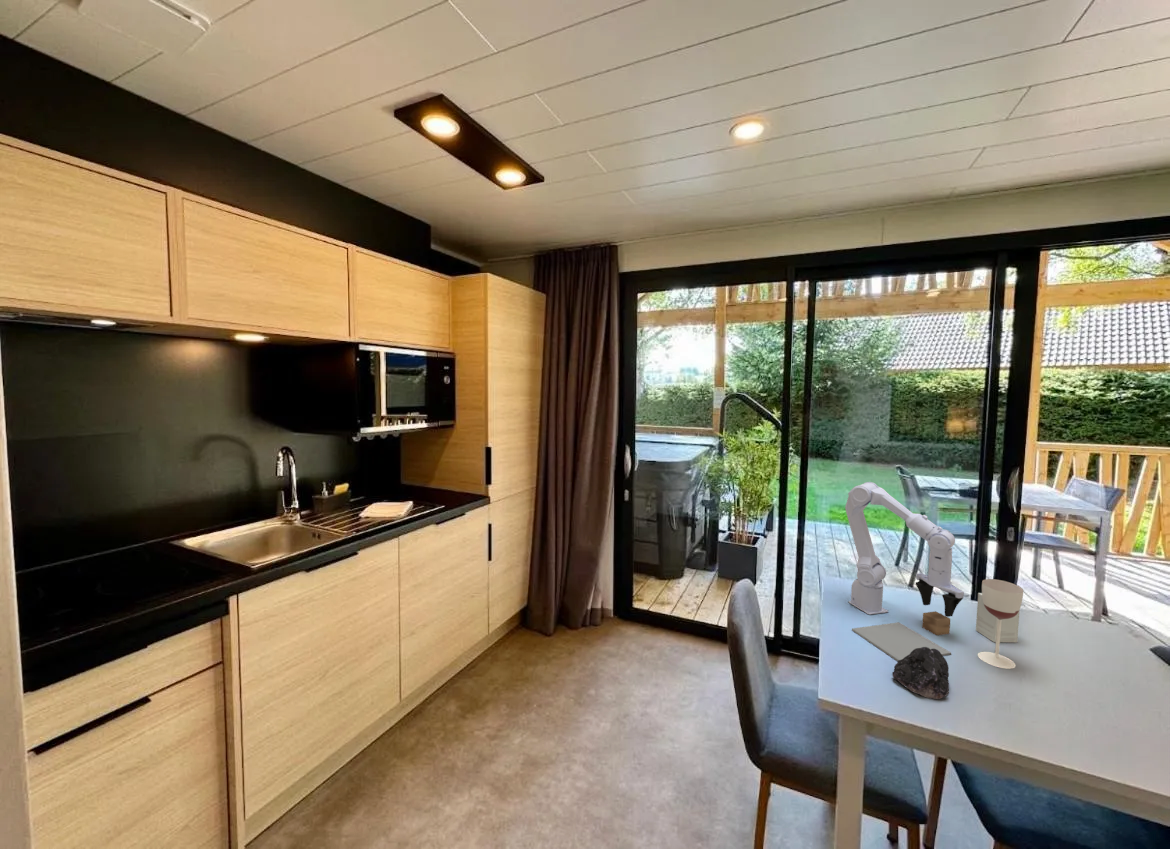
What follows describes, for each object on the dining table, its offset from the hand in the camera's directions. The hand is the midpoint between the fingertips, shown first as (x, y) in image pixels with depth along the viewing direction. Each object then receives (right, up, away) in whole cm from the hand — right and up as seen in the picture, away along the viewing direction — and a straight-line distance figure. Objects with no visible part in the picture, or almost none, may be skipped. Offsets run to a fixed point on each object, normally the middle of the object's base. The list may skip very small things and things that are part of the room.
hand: (937, 610), depth 153 cm
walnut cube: (0, -7, +1) cm, 7 cm away
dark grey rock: (-23, -10, -26) cm, 36 cm away
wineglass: (+6, -9, -15) cm, 18 cm away
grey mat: (-16, -8, -6) cm, 19 cm away
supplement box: (+16, -7, -3) cm, 18 cm away
